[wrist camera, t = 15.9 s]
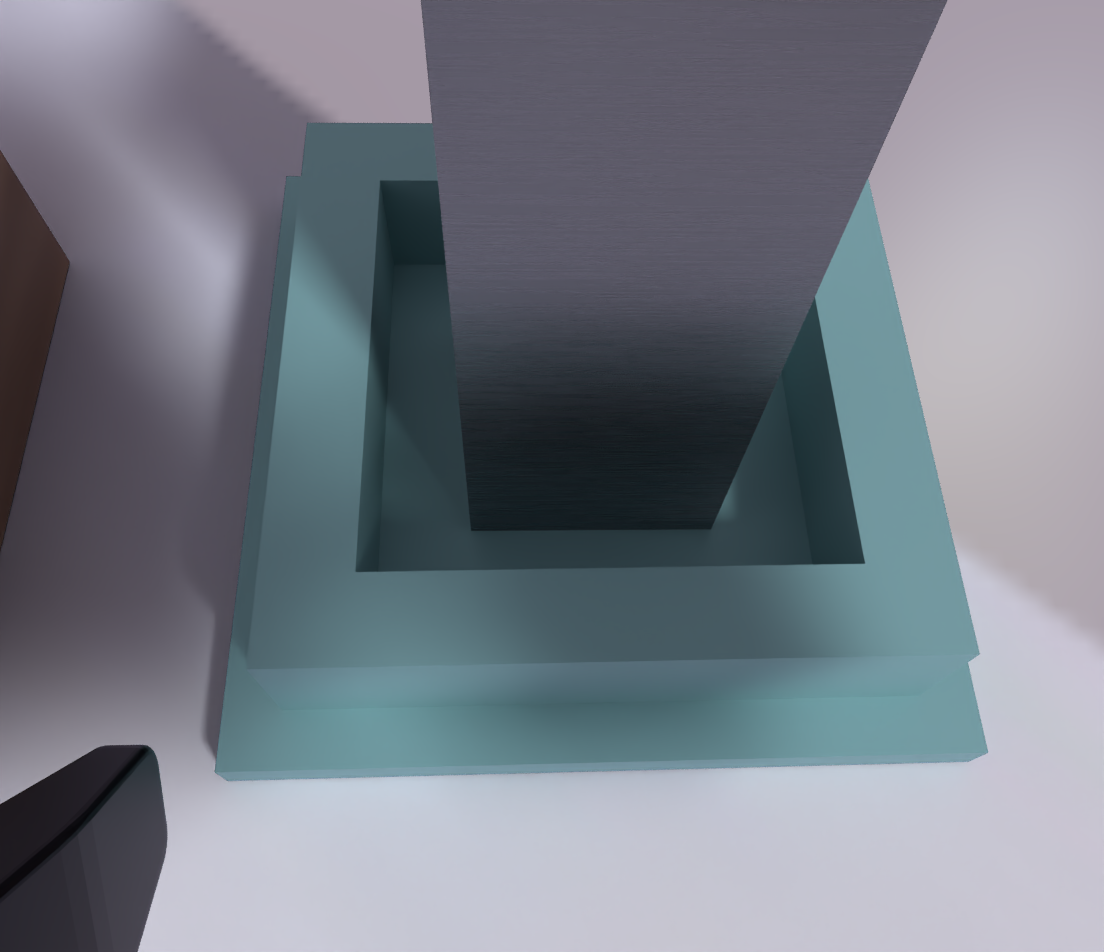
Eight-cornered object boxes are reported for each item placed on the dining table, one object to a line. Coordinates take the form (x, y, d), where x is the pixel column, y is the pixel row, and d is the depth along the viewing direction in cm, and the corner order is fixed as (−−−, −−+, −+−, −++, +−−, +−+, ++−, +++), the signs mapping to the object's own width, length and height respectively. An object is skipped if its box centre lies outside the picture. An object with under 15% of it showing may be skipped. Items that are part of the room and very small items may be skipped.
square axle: (690, 331, 20) (922, -507, 9) (711, 529, 18) (1047, -225, 7) (473, 331, 20) (422, -525, 9) (470, 530, 18) (398, -240, 7)
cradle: (846, 202, 23) (894, 90, 20) (969, 761, 17) (1060, 718, 14) (293, 201, 23) (261, 85, 20) (227, 781, 17) (167, 739, 14)
